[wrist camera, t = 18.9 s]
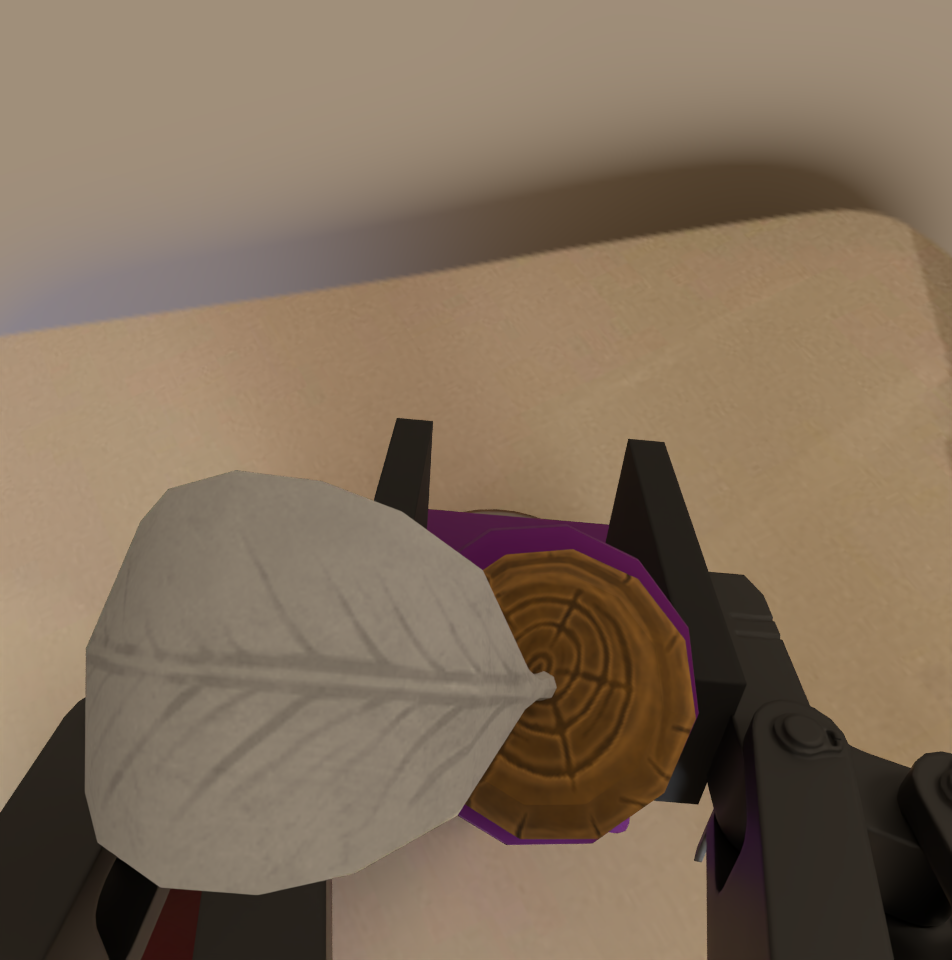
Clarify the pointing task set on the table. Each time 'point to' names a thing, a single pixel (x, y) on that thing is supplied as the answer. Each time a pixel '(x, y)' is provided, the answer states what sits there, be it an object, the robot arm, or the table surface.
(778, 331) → the table surface
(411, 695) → the perfume bottle
